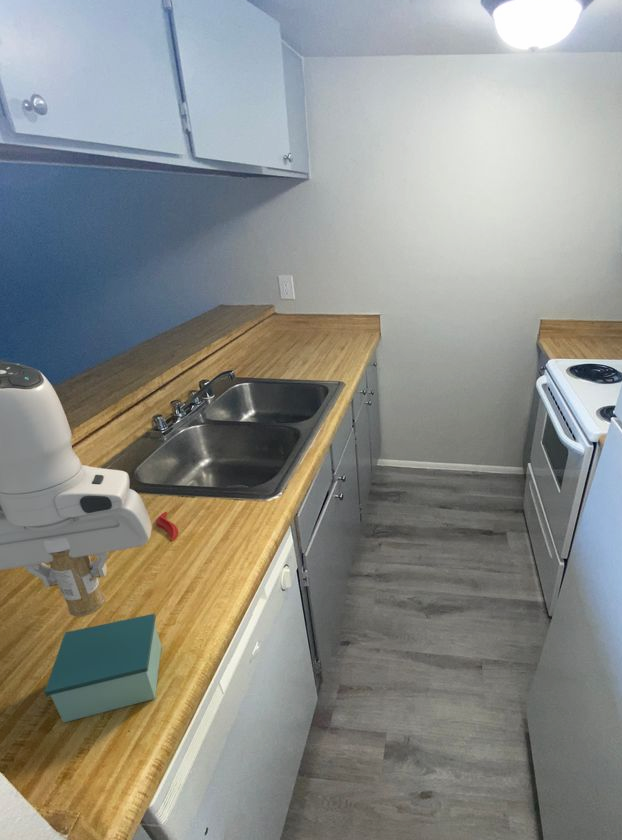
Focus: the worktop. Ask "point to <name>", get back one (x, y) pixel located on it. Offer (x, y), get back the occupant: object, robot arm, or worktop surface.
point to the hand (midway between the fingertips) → (78, 578)
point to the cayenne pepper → (167, 526)
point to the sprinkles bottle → (74, 579)
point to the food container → (105, 668)
